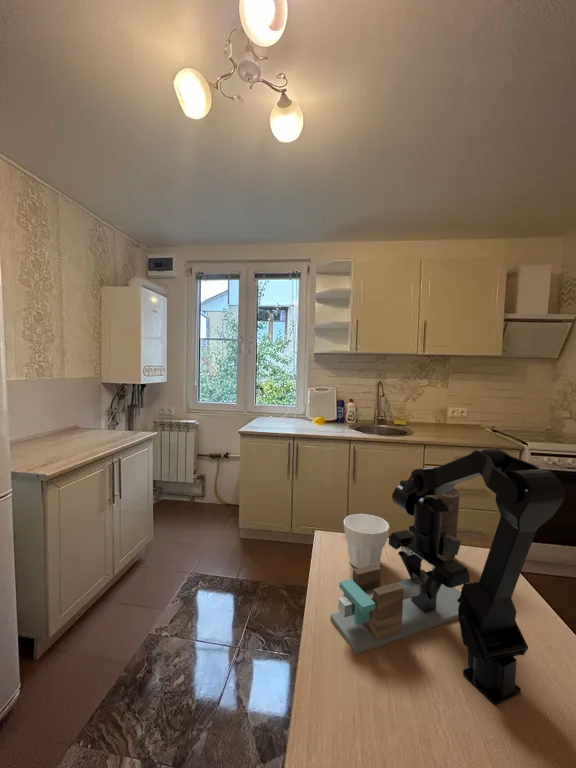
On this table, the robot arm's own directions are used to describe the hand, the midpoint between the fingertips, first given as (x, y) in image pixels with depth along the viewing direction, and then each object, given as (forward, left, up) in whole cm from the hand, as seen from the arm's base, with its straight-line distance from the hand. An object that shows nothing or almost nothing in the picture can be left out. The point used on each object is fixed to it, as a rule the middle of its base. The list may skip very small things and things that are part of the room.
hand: (423, 592), depth 80 cm
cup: (+21, +1, -4) cm, 21 cm away
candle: (+15, -21, -4) cm, 26 cm away
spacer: (0, +18, 0) cm, 18 cm away
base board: (0, +4, -4) cm, 6 cm away
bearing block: (0, +13, -4) cm, 14 cm away
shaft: (0, 0, -4) cm, 4 cm away
